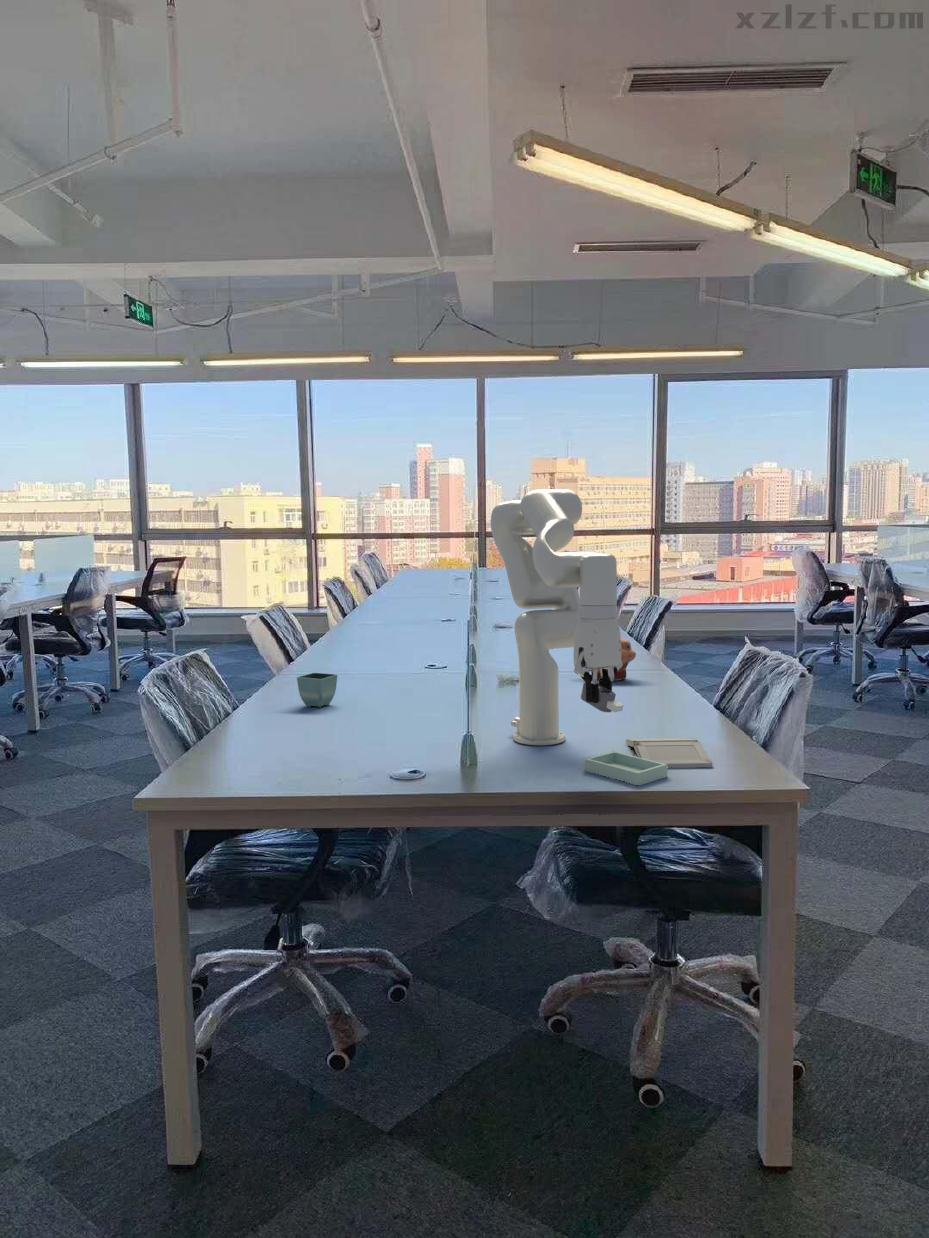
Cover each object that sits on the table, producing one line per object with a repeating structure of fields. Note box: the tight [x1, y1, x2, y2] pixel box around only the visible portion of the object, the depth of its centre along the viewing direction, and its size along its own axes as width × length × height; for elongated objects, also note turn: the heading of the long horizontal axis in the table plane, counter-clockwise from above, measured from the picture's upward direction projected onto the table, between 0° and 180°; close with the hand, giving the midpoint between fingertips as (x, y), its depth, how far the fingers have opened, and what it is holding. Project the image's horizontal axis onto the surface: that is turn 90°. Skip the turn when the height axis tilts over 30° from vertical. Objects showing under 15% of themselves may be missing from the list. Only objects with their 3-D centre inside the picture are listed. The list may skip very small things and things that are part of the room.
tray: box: [584, 751, 668, 786], centre depth 185 cm, size 14×9×3 cm, turn 40°
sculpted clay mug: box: [597, 637, 637, 681], centre depth 295 cm, size 20×12×14 cm, turn 68°
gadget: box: [625, 737, 714, 769], centre depth 201 cm, size 23×15×4 cm, turn 0°
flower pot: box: [296, 672, 338, 708], centre depth 259 cm, size 9×9×9 cm
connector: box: [580, 682, 624, 713], centre depth 184 cm, size 10×3×4 cm, turn 37°
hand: (598, 700), depth 185 cm, fingers closed on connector, 3 cm apart
